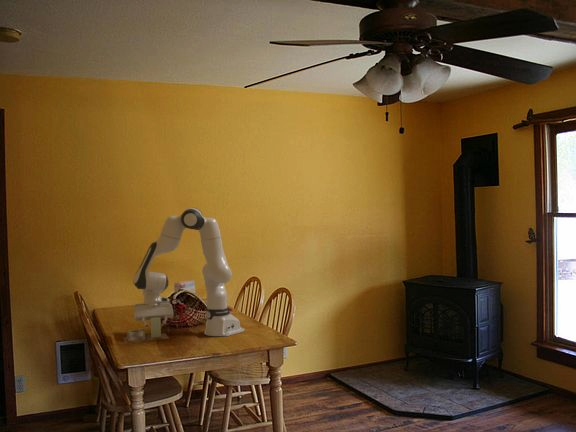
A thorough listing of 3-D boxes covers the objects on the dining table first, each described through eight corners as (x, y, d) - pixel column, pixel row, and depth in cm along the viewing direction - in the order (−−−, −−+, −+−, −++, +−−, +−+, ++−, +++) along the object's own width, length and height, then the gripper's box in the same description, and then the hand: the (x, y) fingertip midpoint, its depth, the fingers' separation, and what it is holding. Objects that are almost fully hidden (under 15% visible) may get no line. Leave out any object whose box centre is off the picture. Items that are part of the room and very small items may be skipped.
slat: (160, 336, 286) (160, 317, 285) (160, 336, 284) (160, 318, 284) (150, 337, 284) (150, 318, 284) (151, 337, 282) (150, 318, 282)
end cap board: (165, 336, 292) (165, 325, 292) (169, 341, 281) (169, 330, 280) (123, 340, 283) (122, 329, 283) (125, 345, 272) (125, 335, 272)
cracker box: (188, 311, 357) (188, 279, 356) (195, 312, 354) (195, 280, 353) (174, 315, 345) (173, 282, 344) (181, 316, 342) (180, 283, 341)
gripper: (133, 301, 286) (135, 323, 277) (171, 298, 294) (175, 319, 285) (132, 308, 291) (134, 330, 282) (170, 305, 298) (174, 326, 289)
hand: (155, 325), depth 284 cm, fingers open, 8 cm apart
